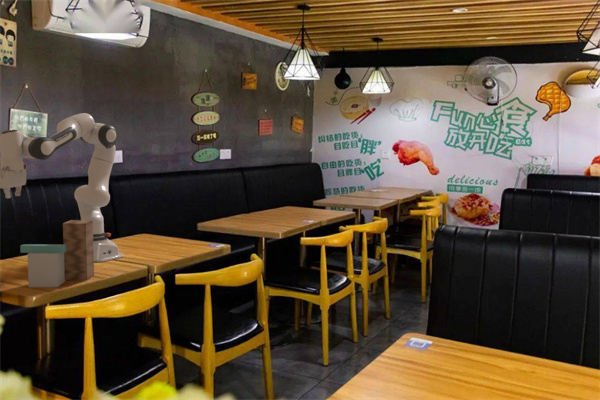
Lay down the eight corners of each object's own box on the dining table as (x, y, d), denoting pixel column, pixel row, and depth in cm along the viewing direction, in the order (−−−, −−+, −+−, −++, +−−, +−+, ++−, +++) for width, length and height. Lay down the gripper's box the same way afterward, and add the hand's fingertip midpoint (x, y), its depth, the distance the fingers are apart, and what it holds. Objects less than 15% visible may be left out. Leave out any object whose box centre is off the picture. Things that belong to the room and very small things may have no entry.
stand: (64, 280, 252) (62, 223, 249) (72, 275, 261) (70, 220, 259) (87, 280, 252) (85, 223, 249) (94, 275, 262) (92, 220, 259)
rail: (20, 252, 240) (20, 245, 240) (24, 251, 244) (23, 244, 243) (63, 252, 241) (63, 245, 241) (66, 251, 245) (66, 244, 245)
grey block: (28, 287, 239) (27, 254, 238) (37, 281, 248) (36, 249, 247) (57, 287, 240) (56, 254, 239) (64, 281, 249) (63, 249, 248)
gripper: (8, 167, 239) (9, 199, 241) (28, 165, 260) (29, 194, 261) (-7, 167, 239) (-6, 199, 241) (14, 165, 259) (15, 194, 261)
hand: (13, 197), depth 251 cm, fingers open, 8 cm apart
